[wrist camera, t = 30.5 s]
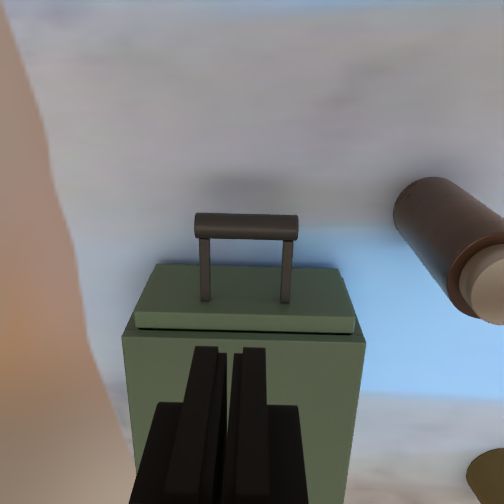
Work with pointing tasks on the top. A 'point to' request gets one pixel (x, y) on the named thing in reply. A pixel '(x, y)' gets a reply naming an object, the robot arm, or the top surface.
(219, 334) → the cabinet
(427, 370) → the top surface
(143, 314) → the drawer
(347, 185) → the top surface
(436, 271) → the pepper mill
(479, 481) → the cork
